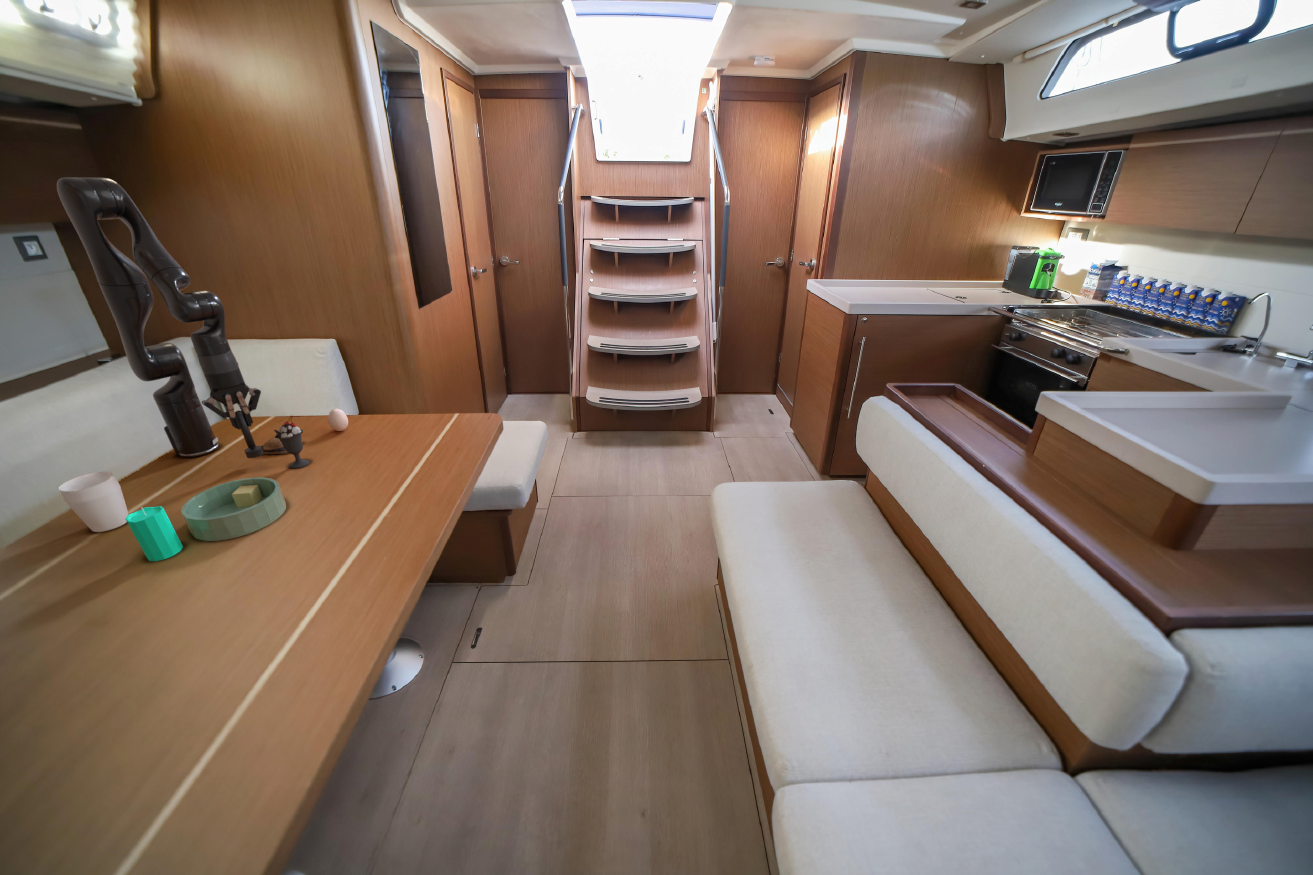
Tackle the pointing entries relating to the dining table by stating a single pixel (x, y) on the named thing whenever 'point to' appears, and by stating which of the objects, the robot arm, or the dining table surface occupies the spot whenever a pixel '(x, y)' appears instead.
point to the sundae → (292, 442)
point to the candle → (154, 533)
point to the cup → (96, 500)
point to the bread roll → (273, 447)
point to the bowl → (232, 510)
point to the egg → (338, 420)
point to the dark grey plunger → (248, 438)
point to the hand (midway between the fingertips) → (243, 426)
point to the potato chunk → (247, 496)
